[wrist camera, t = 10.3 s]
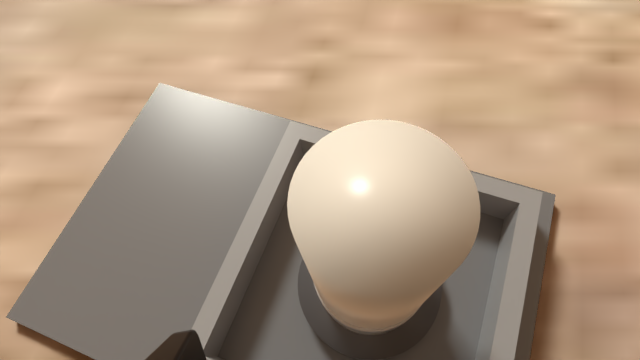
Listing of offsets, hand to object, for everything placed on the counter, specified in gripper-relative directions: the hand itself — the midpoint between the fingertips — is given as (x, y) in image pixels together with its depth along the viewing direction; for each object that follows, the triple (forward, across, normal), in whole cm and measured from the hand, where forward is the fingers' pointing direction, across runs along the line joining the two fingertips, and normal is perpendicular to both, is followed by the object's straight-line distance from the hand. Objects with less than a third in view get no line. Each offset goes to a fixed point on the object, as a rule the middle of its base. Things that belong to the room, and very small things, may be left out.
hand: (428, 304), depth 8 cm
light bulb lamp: (+9, 0, +6) cm, 10 cm away
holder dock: (+11, +4, +4) cm, 12 cm away
